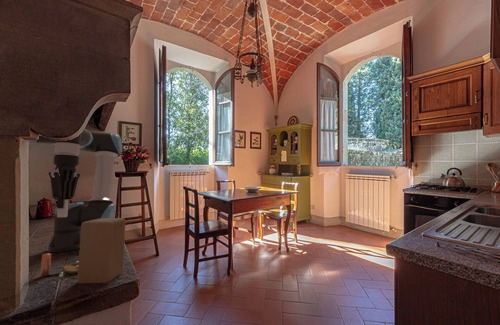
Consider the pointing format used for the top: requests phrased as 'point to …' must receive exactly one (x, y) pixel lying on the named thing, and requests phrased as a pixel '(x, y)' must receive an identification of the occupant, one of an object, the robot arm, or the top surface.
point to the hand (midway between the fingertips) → (62, 216)
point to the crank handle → (46, 268)
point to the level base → (66, 274)
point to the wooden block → (101, 250)
